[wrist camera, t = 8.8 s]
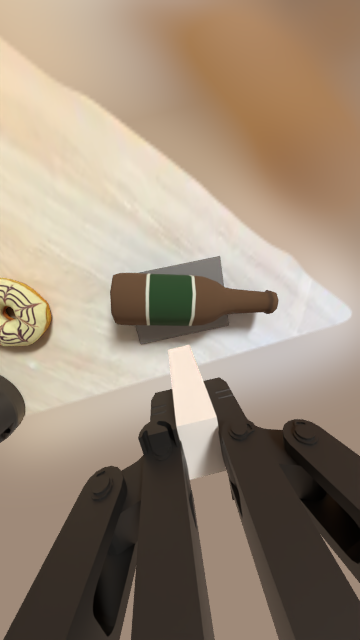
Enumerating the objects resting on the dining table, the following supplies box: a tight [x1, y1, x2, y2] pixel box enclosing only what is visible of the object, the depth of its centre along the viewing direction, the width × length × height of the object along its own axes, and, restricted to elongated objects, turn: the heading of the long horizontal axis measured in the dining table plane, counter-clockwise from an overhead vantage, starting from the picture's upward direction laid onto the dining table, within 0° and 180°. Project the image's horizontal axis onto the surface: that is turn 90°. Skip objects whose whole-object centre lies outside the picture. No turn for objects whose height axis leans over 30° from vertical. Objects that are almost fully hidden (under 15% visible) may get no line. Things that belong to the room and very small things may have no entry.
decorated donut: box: [0, 278, 52, 346], centre depth 30 cm, size 10×11×4 cm
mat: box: [136, 256, 229, 344], centre depth 34 cm, size 16×12×1 cm
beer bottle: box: [110, 273, 278, 326], centre depth 30 cm, size 8×8×24 cm
